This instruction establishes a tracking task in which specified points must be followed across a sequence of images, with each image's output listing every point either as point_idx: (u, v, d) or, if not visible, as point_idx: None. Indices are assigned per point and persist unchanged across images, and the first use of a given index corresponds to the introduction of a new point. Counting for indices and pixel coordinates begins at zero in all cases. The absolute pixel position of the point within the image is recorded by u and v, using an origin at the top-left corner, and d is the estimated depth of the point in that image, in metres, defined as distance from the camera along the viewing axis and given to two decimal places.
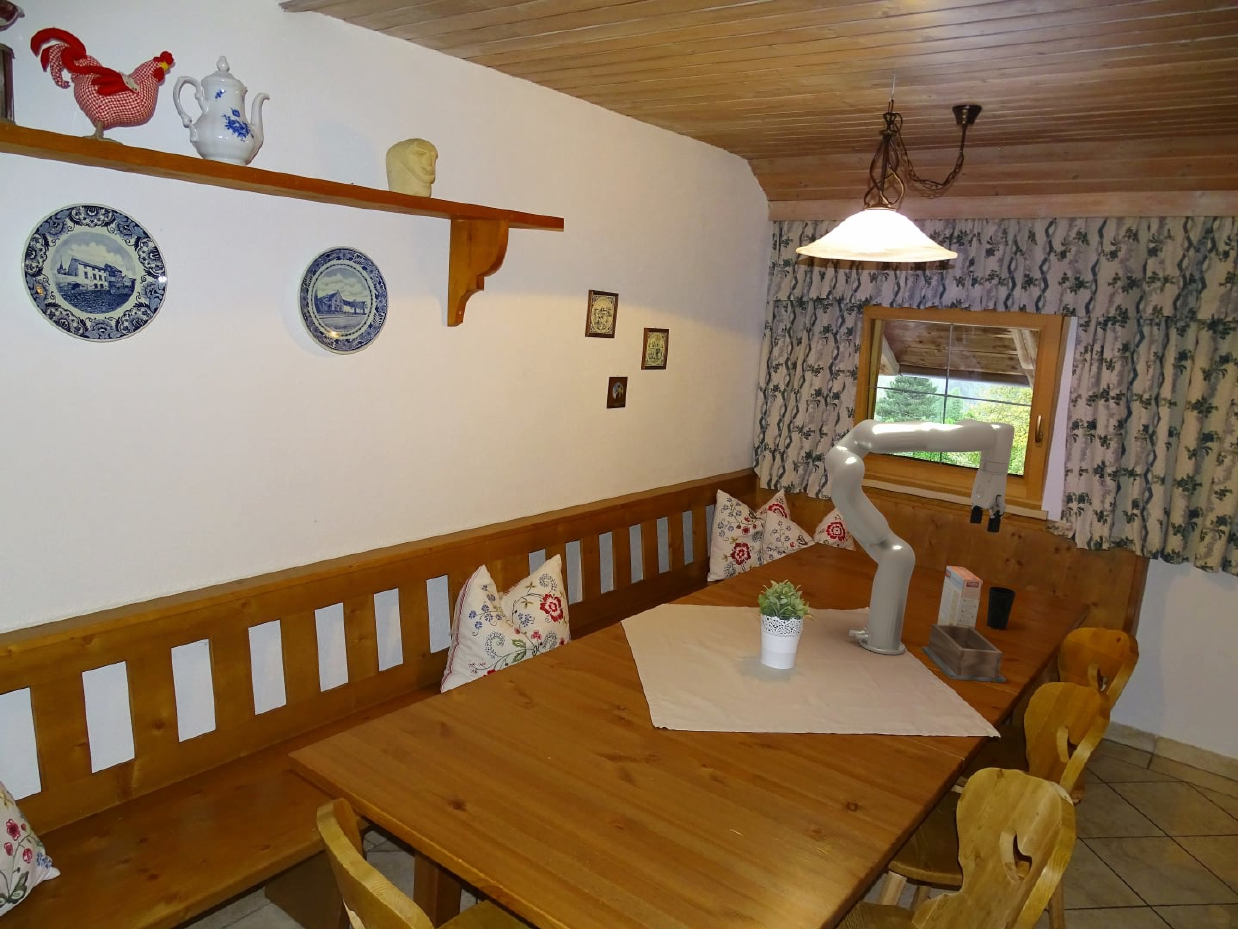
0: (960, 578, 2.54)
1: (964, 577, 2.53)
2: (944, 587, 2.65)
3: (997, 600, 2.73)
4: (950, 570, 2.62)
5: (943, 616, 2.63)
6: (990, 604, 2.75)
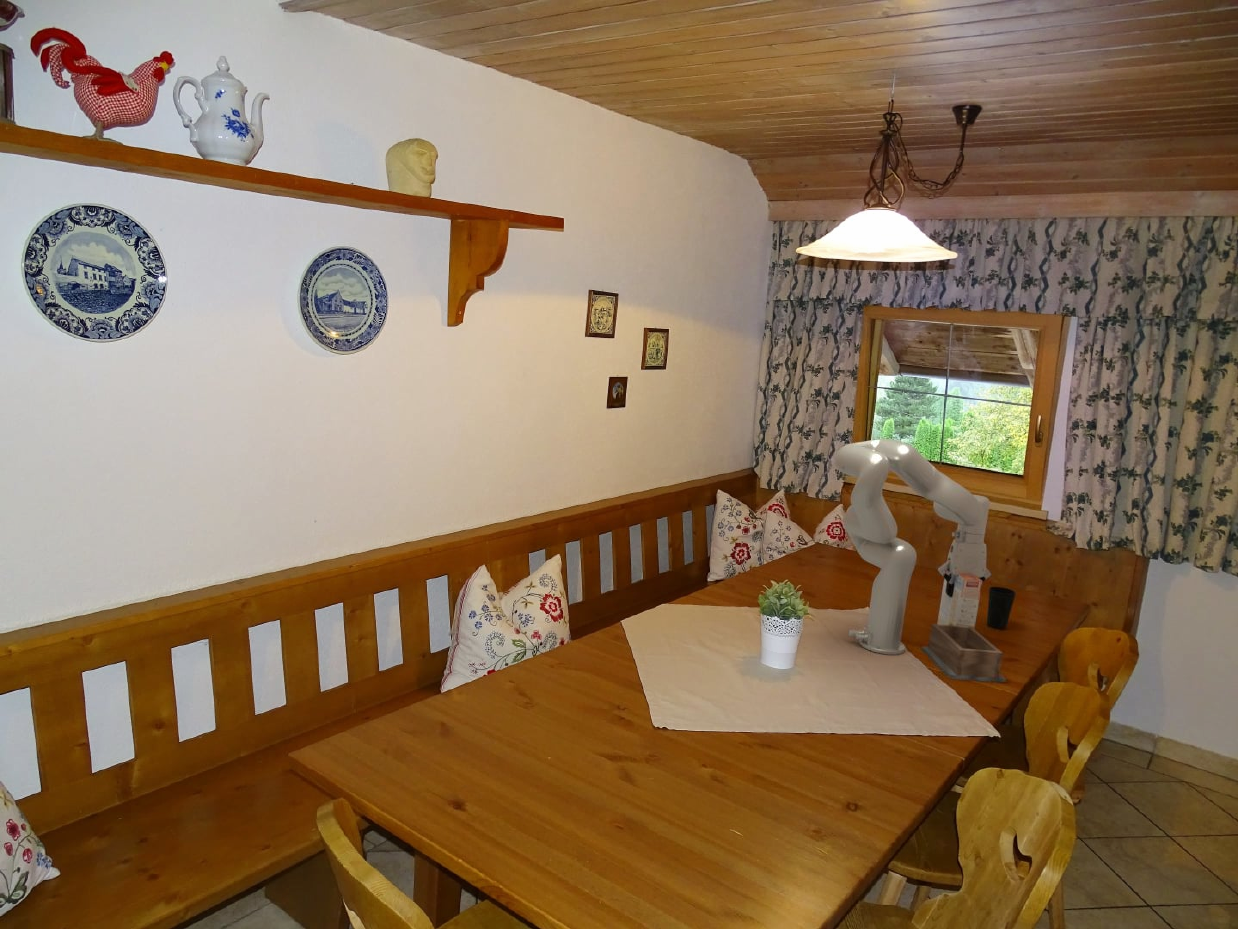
0: (960, 578, 2.54)
1: (964, 577, 2.53)
2: (944, 587, 2.65)
3: (997, 600, 2.73)
4: None
5: (943, 616, 2.63)
6: (990, 604, 2.75)
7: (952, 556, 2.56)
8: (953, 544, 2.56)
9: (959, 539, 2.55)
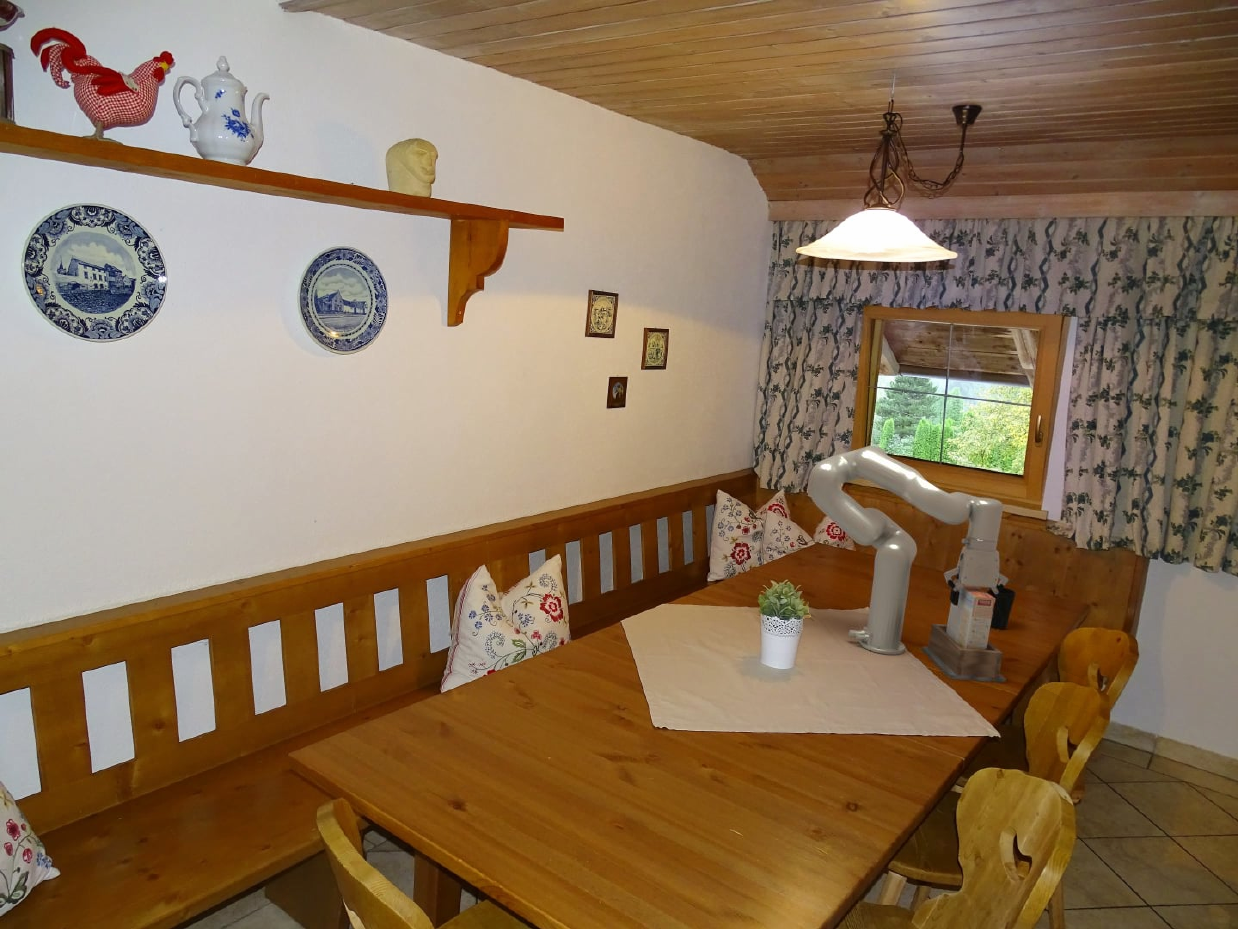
0: (971, 595, 2.34)
1: (975, 594, 2.33)
2: (952, 604, 2.45)
3: (997, 600, 2.73)
4: None
5: (951, 636, 2.43)
6: None
7: (962, 564, 2.35)
8: (963, 551, 2.36)
9: (970, 546, 2.35)
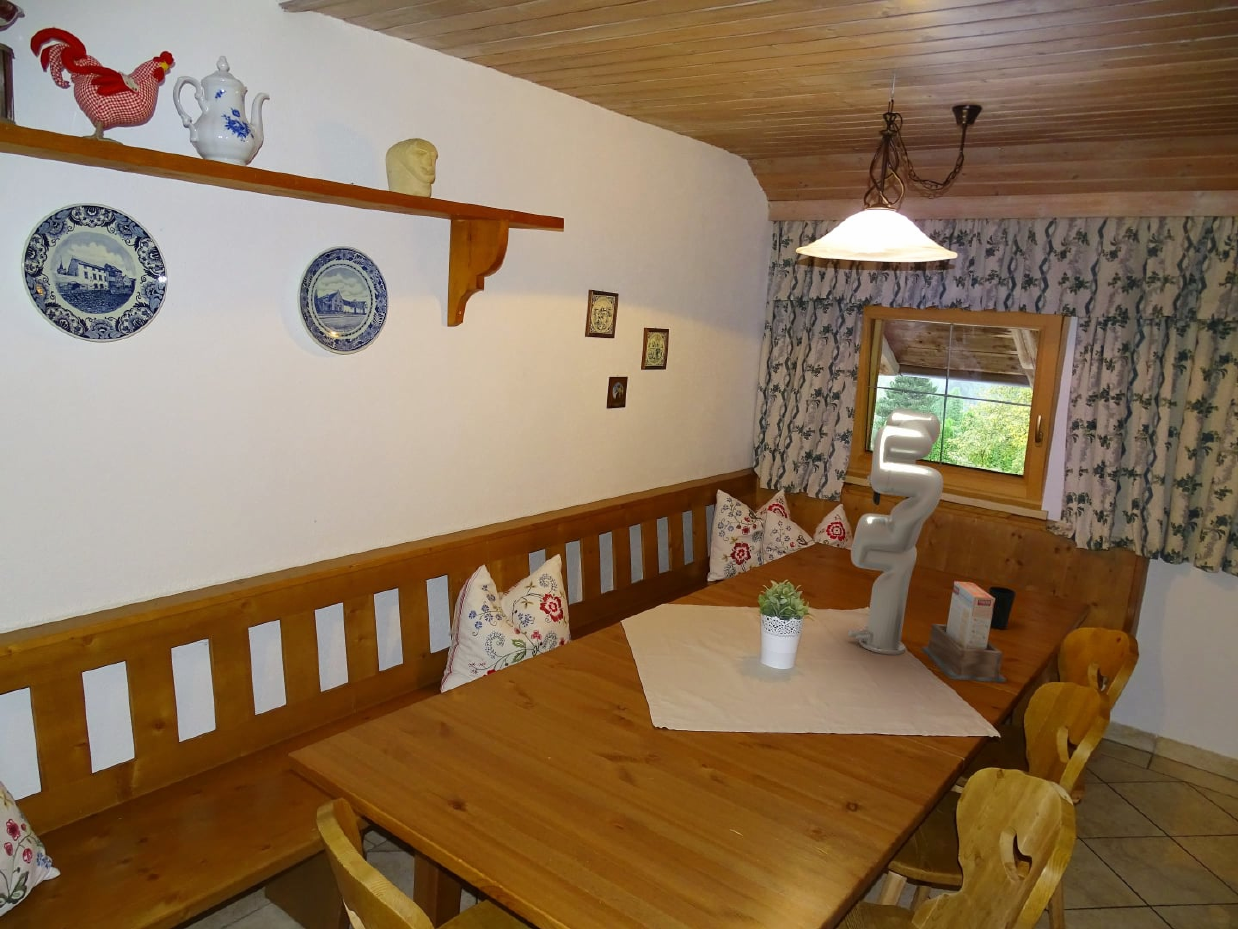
0: (970, 595, 2.34)
1: (975, 594, 2.33)
2: (952, 604, 2.45)
3: (997, 600, 2.73)
4: (958, 586, 2.42)
5: (951, 636, 2.43)
6: None
7: None
8: None
9: None
